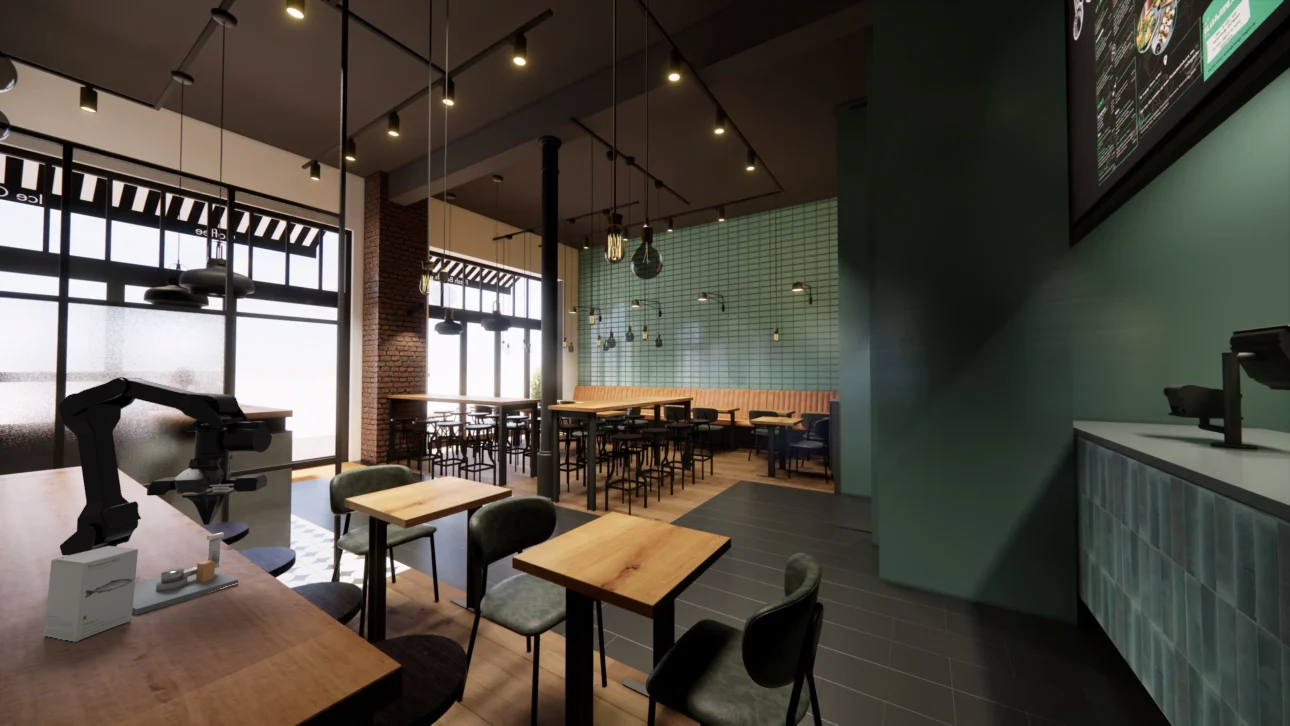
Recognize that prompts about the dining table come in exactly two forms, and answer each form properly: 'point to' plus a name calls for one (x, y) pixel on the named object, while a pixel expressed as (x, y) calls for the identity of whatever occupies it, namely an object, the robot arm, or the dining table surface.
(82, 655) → the dining table surface
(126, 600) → the supplement box
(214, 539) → the crank
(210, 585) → the crank bed
